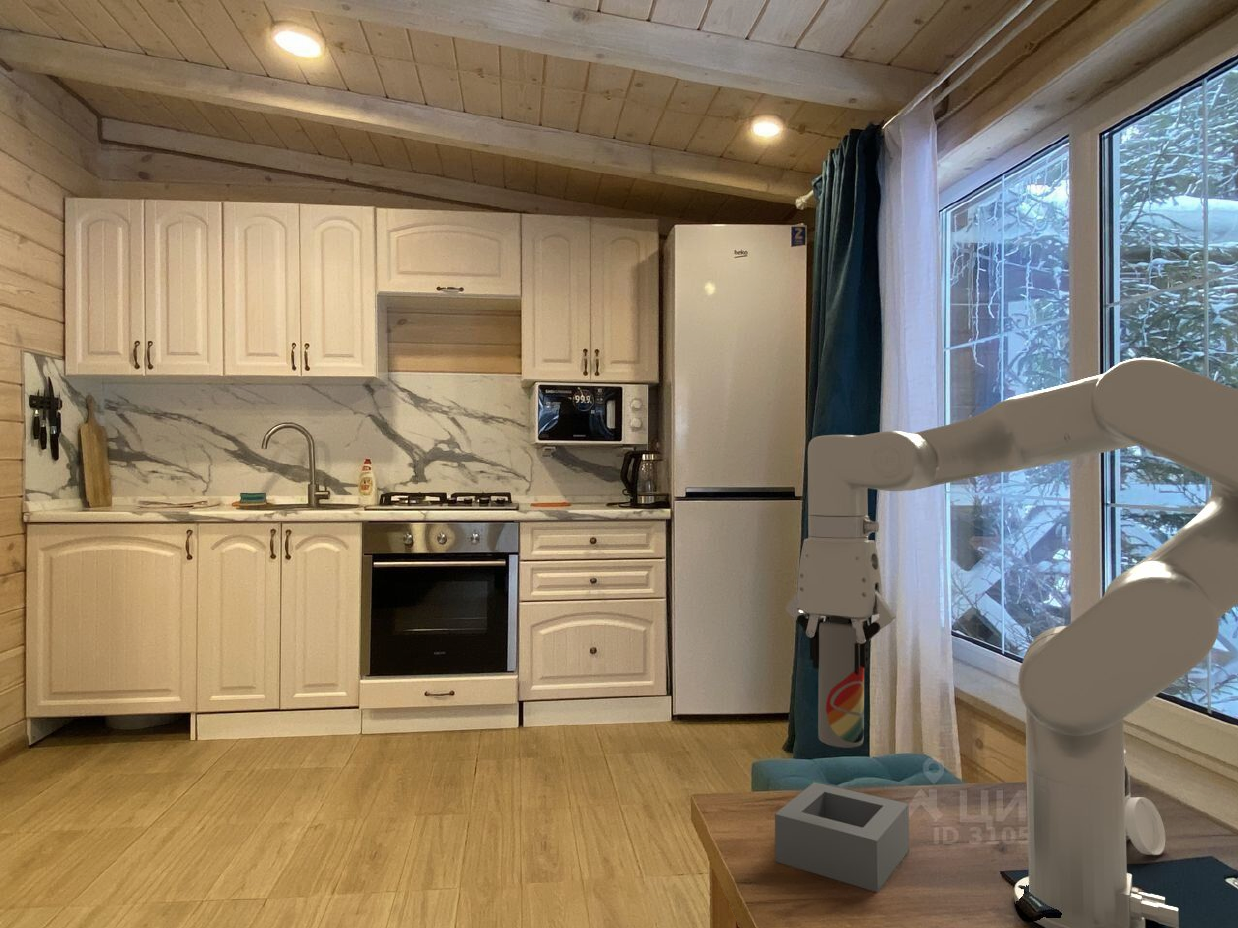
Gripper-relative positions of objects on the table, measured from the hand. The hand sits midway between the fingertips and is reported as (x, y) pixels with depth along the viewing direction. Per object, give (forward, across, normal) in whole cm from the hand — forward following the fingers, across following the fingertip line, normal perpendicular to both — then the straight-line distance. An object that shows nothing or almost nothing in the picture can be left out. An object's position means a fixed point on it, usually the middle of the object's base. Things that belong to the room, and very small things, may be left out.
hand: (839, 667), depth 101 cm
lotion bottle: (+10, 0, 0) cm, 10 cm away
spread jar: (+24, -28, -26) cm, 45 cm away
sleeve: (+24, 0, 0) cm, 24 cm away
